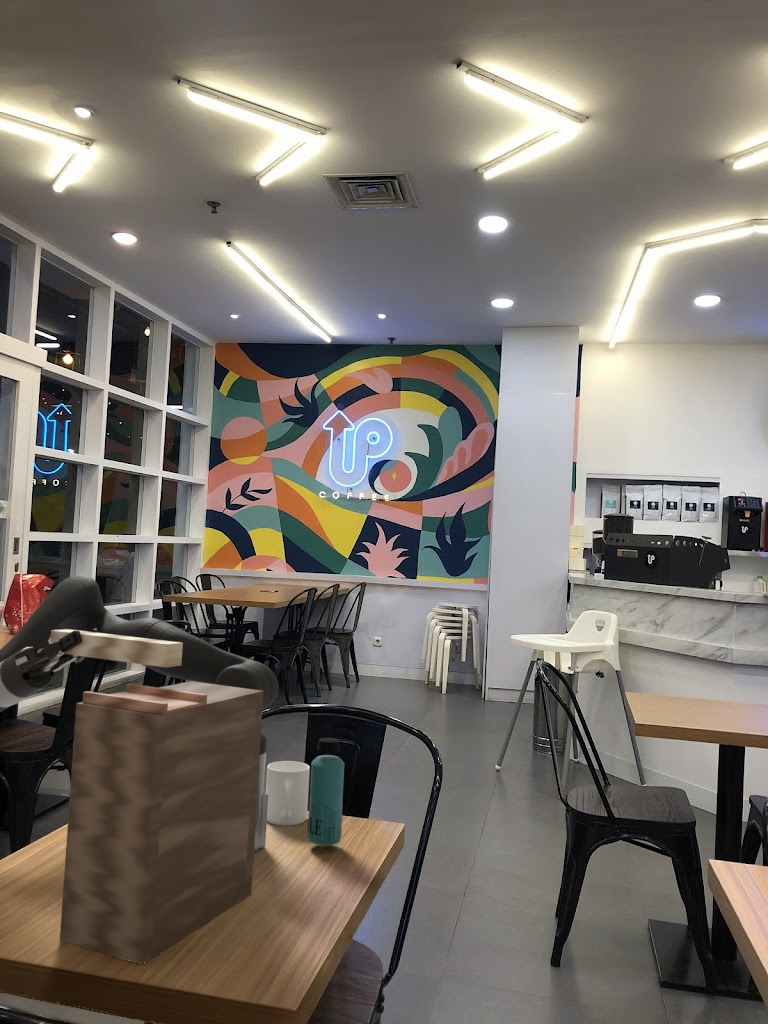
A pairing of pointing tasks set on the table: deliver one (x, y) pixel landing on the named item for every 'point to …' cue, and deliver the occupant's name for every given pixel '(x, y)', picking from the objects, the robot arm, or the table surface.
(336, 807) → the beverage bottle
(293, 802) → the mug
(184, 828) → the brown wooden box
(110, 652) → the cream long bar
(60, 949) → the table surface
